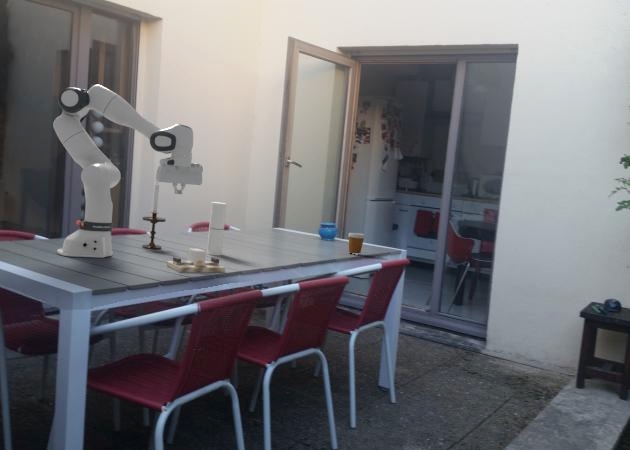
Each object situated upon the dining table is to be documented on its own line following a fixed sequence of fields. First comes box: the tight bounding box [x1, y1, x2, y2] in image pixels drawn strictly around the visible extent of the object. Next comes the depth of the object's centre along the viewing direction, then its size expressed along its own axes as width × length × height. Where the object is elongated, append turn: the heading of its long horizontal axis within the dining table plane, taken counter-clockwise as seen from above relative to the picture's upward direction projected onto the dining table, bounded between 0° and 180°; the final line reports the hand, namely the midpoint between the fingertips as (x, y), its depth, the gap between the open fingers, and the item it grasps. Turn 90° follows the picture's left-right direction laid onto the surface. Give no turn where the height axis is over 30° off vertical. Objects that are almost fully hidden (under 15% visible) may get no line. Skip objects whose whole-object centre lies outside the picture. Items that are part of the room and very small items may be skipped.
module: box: [187, 248, 207, 266], centre depth 272 cm, size 4×8×6 cm, turn 34°
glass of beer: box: [348, 232, 366, 254], centre depth 373 cm, size 10×10×12 cm
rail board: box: [166, 256, 226, 273], centre depth 272 cm, size 20×14×5 cm
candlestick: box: [141, 180, 167, 250], centre depth 314 cm, size 11×11×35 cm
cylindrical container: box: [206, 201, 227, 256], centre depth 317 cm, size 7×7×25 cm
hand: (178, 194), depth 286 cm, fingers closed
